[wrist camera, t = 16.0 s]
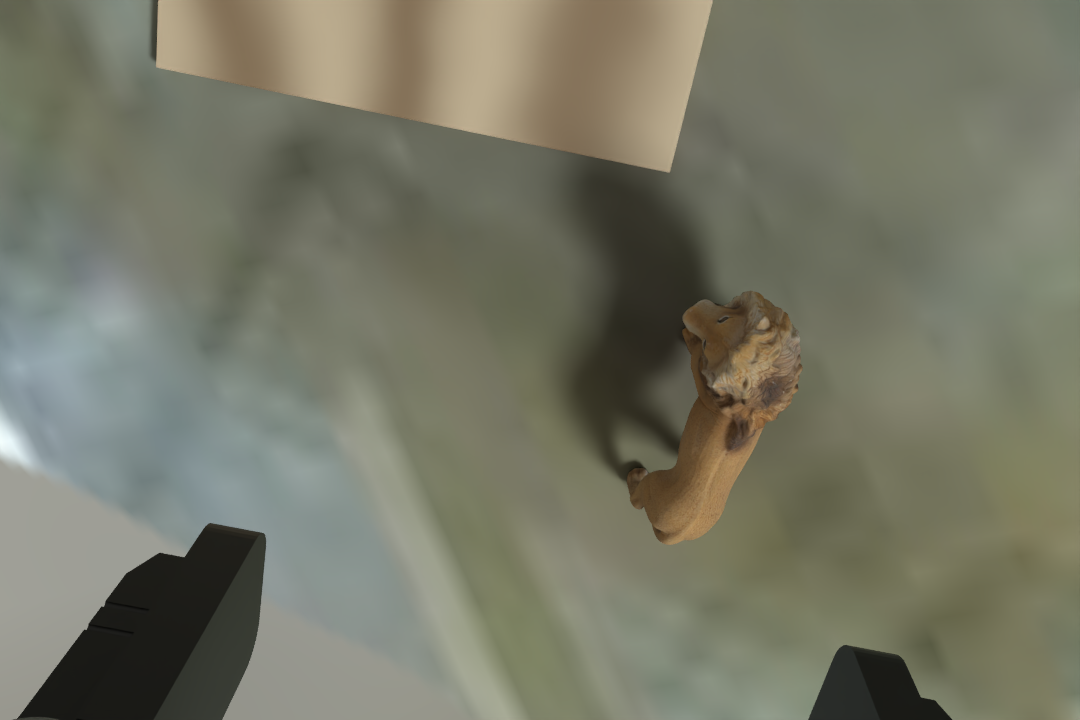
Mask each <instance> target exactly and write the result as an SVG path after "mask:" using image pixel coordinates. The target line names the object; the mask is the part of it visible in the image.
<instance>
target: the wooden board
mask: <svg viewBox="0 0 1080 720" xmlns="http://www.w3.org/2000/svg"><path fill="white" fill-rule="evenodd" d="M712 3H713V0H158V24H157V61H156V67H157V68H162V69H167V70H172V71H177V72H182V73H187V74H191V75H196V76H201V77H206V78H211V79H216V80H221V81H226V82H230V83H235V84H240V85H245V86H250V87H255V88H260V89H264V90H269V91H274V92H279V93H284V94H289V95H294V96H299V97H303V98H308V99H313V100H318V101H323V102H328V103H333V104H338V105H342V106H347V107H352V108H357V109H362V110H367V111H372V112H376V113H381V114H386V115H391V116H396V117H401V118H406V119H411V120H415V121H420V122H425V123H430V124H435V125H440V126H445V127H450V128H454V129H459V130H464V131H469V132H474V133H479V134H484V135H489V136H493V137H498V138H503V139H508V140H513V141H518V142H523V143H527V144H532V145H537V146H542V147H547V148H552V149H557V150H562V151H566V152H571V153H576V154H581V155H586V156H591V157H596V158H601V159H605V160H610V161H615V162H620V163H625V164H630V165H635V166H639V167H644V168H649V169H654V170H659V171H664V172H669V173H670V169H671V165H672V161H673V157H674V154H675V150H676V146H677V142H678V138H679V134H680V130H681V126H682V122H683V118H684V114H685V110H686V106H687V102H688V98H689V94H690V90H691V86H692V82H693V78H694V74H695V70H696V66H697V62H698V58H699V54H700V50H701V46H702V42H703V38H704V34H705V30H706V26H707V22H708V18H709V14H710V10H711V6H712Z"/></svg>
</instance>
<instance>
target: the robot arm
mask: <svg viewBox="0 0 1080 720" xmlns="http://www.w3.org/2000/svg"><path fill="white" fill-rule="evenodd" d="M265 551H266V537H265V534H264V533H260V532H255V531H249V530H244V529H239V528H234V527H228V526H223V525H218V524H212V523H210V524H208V525H207V526H206V527H205V528H204V529H203V531H202V532H201V534H200V535H199V537H198V538H197V540H196V541H195V543H194V544H193V545H192V547H191V548H190V550H189V551H188V553H187V554H186V556H185V557H179V556H174V555H168V554H163V553H159V554H157V555H155V556H154V557H152V558H150V559H149V560H147V561H146V562H144V563H143V564H141V565H139V566H138V567H136V568H135V569H133V570H132V571H130V572H128V573H126V575H125V576H124V577H123V579H122V580H121V581H120V583H119V584H118V585H117V587H116V588H115V589H114V591H113V592H112V593H111V595H110V596H109V597H108V599H107V600H106V602H105V606H104V607H101V608H100V609H99V611H98V612H97V613H96V615H95V616H94V617H93V619H92V620H91V622H90V623H89V626H88V628H87V630H84V631H83V632H82V633H81V635H80V636H79V637H78V639H77V640H76V641H75V643H74V644H73V645H72V647H71V648H70V649H69V651H68V652H67V653H66V655H65V656H64V657H63V659H62V660H61V661H60V663H59V664H58V665H57V667H56V668H55V669H54V671H53V672H52V673H51V675H50V676H49V677H48V679H47V680H46V682H45V683H44V684H43V685H42V687H41V688H40V689H39V691H38V692H37V693H36V695H35V696H34V697H33V699H32V700H31V702H30V703H29V704H28V705H27V707H26V708H25V709H24V711H23V712H22V713H21V715H20V716H19V717H18V718H17V719H14V720H222V719H223V717H224V714H225V712H226V710H227V708H228V706H229V704H230V702H231V700H232V698H233V696H234V693H235V691H236V690H237V687H238V685H239V683H240V681H241V679H242V677H243V675H244V673H245V670H246V668H247V666H248V663H249V661H250V658H251V655H252V652H253V648H254V645H255V641H256V636H257V631H258V625H259V617H260V606H261V595H262V584H263V573H264V562H265ZM808 720H952V719H951V718H950V717H949V716H948V714H947V713H946V712H945V711H944V710H943V709H942V708H941V707H940V706H939V705H938V703H937V702H936V701H935V700H931V699H925V698H921V697H920V695H919V693H918V690H917V688H916V686H915V684H914V681H913V679H912V677H911V675H910V673H909V670H908V668H907V666H906V664H905V662H904V660H903V659H902V658H901V657H900V656H899V655H895V654H890V653H885V652H880V651H874V650H869V649H864V648H859V647H853V646H848V645H844V646H842V647H840V648H839V649H838V651H837V652H836V654H835V656H834V658H833V661H832V663H831V666H830V668H829V670H828V673H827V675H826V678H825V680H824V683H823V685H822V688H821V690H820V692H819V695H818V697H817V700H816V702H815V705H814V707H813V710H812V712H811V714H810V717H809V719H808Z"/></svg>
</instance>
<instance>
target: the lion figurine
mask: <svg viewBox="0 0 1080 720" xmlns="http://www.w3.org/2000/svg"><path fill="white" fill-rule="evenodd" d="M683 322H684V323H685V326H686V328H684V329H683V331H682V333H683V337H684V339H685V342H686V345H687V347H688V350H689V352H690V354H691V355H692V356H691V369H692V372H693V376H694V380H695V384H696V388H697V391H698V395H699V397H698V398H697V400H696V401H695V403H694V405H693V407H692V409H691V411H690V414H689V417H688V420H687V423H686V425H685V429H684V432H683V435H682V438H681V441H680V445H679V452H678V460H677V463H676V465H675V466H674V468H672V469H670V470H658V471H654V472H651V473H648V472H647V470H646V469H644V468H635V469H633V470H631V471H630V472H629V473H628V476H627V484H628V489H629V493H630V501H631V503H632V505H633V506H634V507H635V508H636V509H642V508H643V507H644V508H645V511H646V513H647V516H648V518H649V520H650V522H651V523H652V526H653V530H654V533H655V535H656V537H657V539H658V540H659V541H660V542H662V543H664V544H667V545H671V544H676V543H678V542H680V541H682V540H693V539H696V538H698V537H700V536H702V535H704V534H705V533H706V532H708V530H709V529H710V528H711V527H712V526H713V525H714V524H715V523H716V522H717V521H718V519H719V518H720V516H721V514H722V512H723V510H724V507H725V504H726V500H727V497H728V495H729V492H730V490H731V488H732V486H733V484H734V482H735V480H736V478H737V477H738V475H739V473H740V472H741V470H742V468H743V467H744V465H745V463H746V462H747V460H748V458H749V457H750V455H751V453H752V451H753V449H754V447H755V445H756V443H757V441H758V438H759V436H760V434H761V432H762V430H763V427H764V426H765V423H766V422H768V421H773V420H775V419H777V417H778V414H779V413H780V412H781V411H783V410H785V409H786V408H787V407H788V406H789V405H790V403H791V400H792V397H793V394H794V393H796V392H797V391H798V385H797V382H798V381H799V374H800V373H801V371H802V368H803V367H802V365H801V364H800V360H801V357H800V355H799V353H800V351H801V348H800V345H799V341H800V336H799V335H798V333H799V332H798V330H797V329H795V328H794V327H793V325H792V323H791V322H790V320H789V317H788V314H787V313H785V312H784V311H783V310H782V309H781V308H778V307H775V306H774V305H773V304H772V303H771V302H770V301H768V300H766V299H764V297H763V296H762V295H761V294H759V293H757V292H753V291H747V292H744V293H742V294H741V296H736V297H734V298H733V300H732V301H731V302H729V303H728V304H726V305H725V306H722V305H719V304H716V303H713V302H711V301H709V300H706V299H704V300H701V301H699V302H697V303H696V304H695V305H694V306H692V307H690V308H689V309H687V310H686V312H685V313H684V315H683Z"/></svg>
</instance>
